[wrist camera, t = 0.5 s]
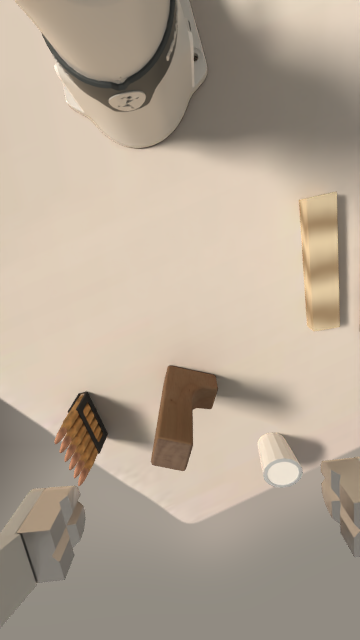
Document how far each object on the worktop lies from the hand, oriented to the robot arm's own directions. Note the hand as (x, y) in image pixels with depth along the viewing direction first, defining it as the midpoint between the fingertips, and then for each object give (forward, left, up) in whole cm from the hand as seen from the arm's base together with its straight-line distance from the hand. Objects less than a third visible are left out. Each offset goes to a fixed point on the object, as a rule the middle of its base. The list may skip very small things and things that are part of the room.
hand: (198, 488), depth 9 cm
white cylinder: (+35, +11, -37) cm, 52 cm away
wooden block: (+18, -3, -37) cm, 41 cm away
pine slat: (+1, +20, -37) cm, 42 cm away
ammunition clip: (+23, -23, -37) cm, 49 cm away
